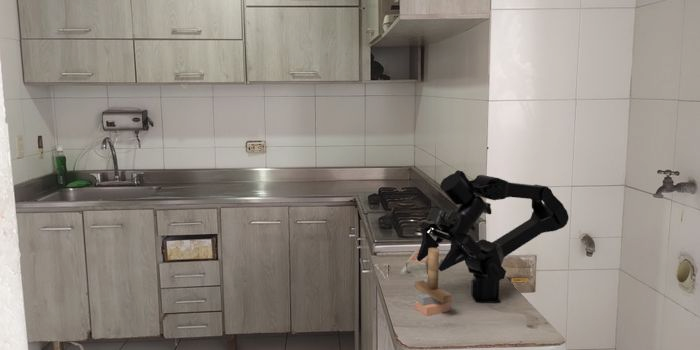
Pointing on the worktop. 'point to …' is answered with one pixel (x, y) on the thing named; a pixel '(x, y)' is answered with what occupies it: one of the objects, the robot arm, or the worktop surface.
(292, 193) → the worktop surface
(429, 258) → the wooden stamp
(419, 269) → the packaged product
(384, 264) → the pair of ivory hairpins
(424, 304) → the fulcrum stand
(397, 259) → the worktop surface
